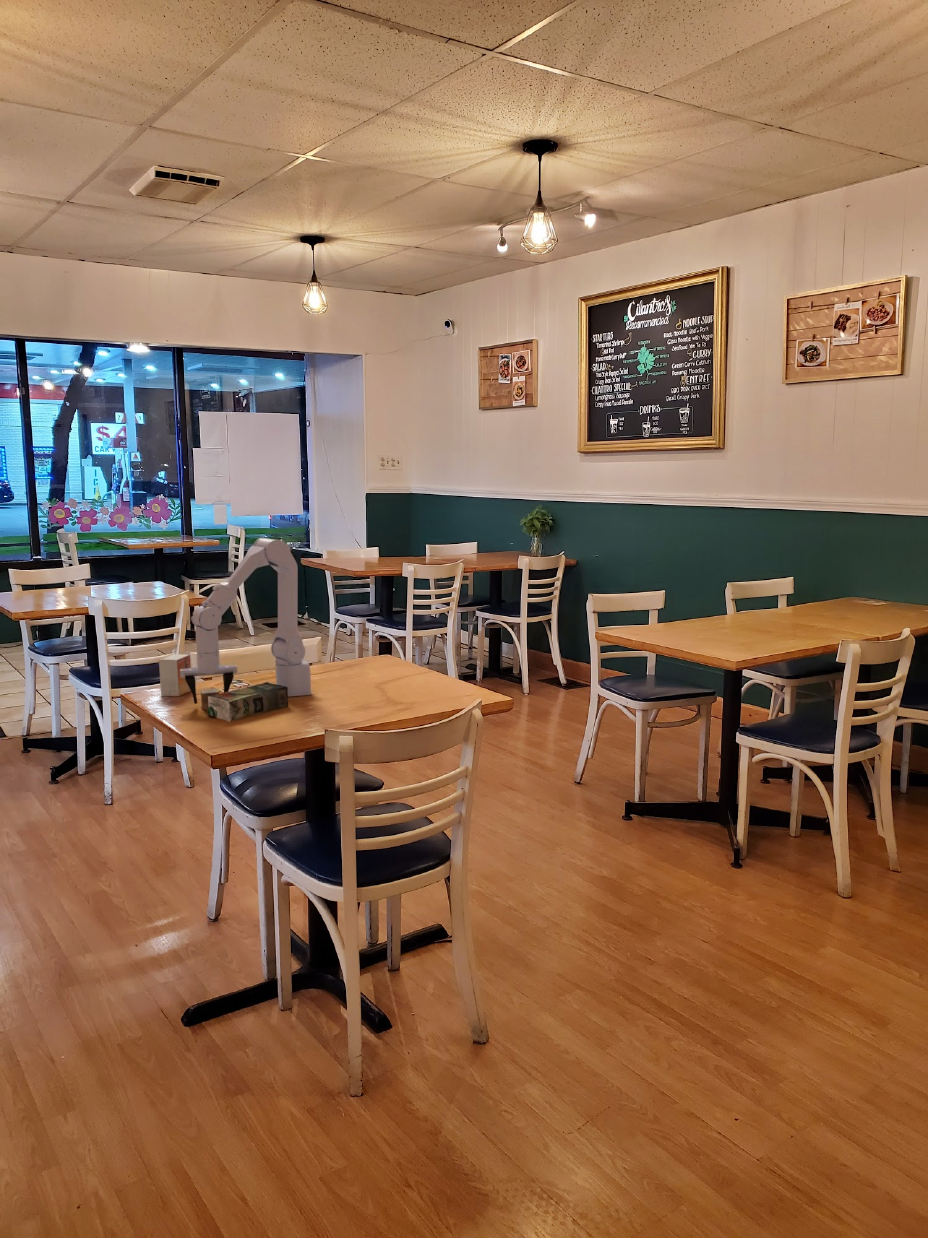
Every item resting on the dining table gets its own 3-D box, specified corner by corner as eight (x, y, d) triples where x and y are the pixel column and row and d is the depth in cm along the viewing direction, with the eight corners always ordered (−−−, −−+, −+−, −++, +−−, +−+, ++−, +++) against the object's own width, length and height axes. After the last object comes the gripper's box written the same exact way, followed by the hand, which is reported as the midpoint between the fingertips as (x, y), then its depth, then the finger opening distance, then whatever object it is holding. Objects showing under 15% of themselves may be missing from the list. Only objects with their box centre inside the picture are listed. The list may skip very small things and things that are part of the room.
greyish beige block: (218, 704, 252) (218, 688, 251) (220, 708, 247) (219, 692, 247) (201, 706, 250) (200, 689, 249) (202, 710, 246) (201, 693, 245)
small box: (178, 697, 260) (176, 660, 258) (160, 696, 261) (158, 659, 259) (192, 690, 267) (190, 654, 266) (174, 689, 268) (172, 653, 267)
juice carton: (227, 723, 233) (226, 699, 233) (203, 717, 240) (202, 694, 239) (289, 708, 249) (289, 685, 248) (266, 702, 255) (265, 680, 254)
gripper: (179, 656, 240) (182, 707, 242) (237, 652, 245) (239, 702, 247) (178, 651, 247) (181, 701, 249) (234, 647, 251) (237, 696, 254)
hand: (210, 701), depth 249 cm, fingers open, 7 cm apart
